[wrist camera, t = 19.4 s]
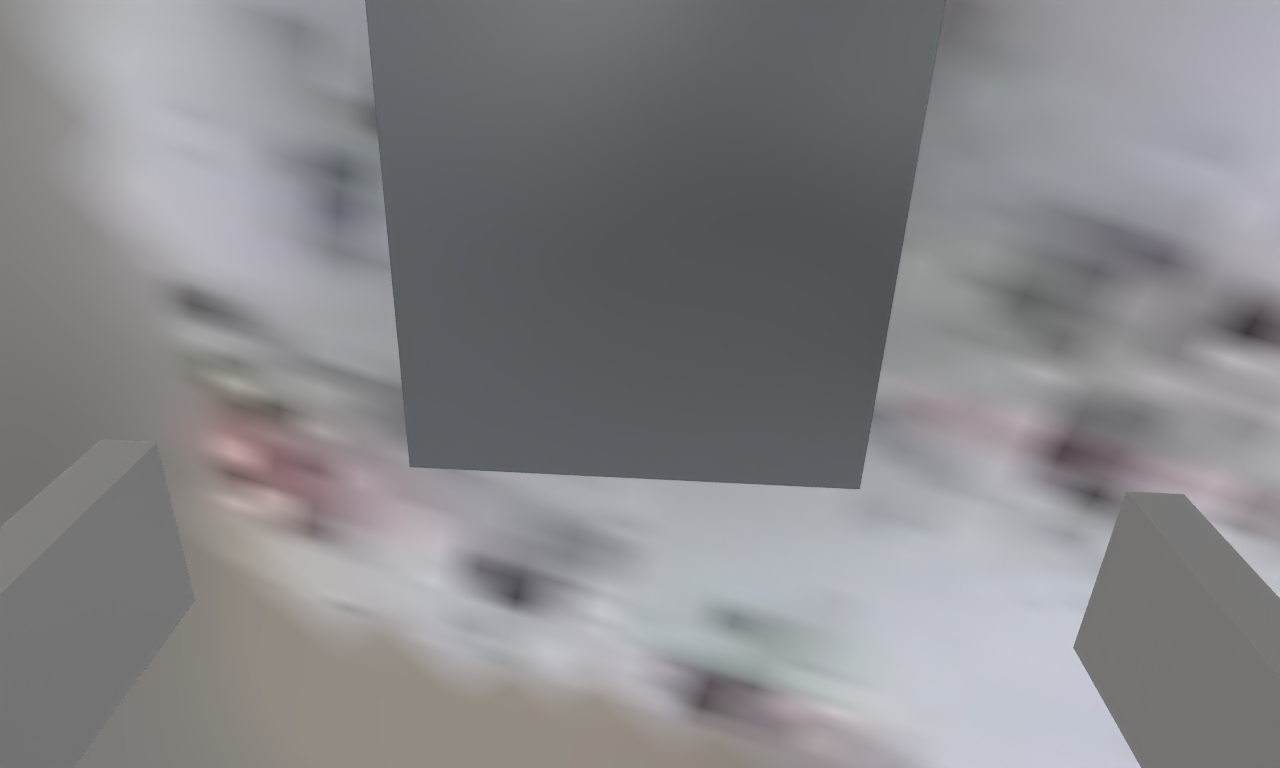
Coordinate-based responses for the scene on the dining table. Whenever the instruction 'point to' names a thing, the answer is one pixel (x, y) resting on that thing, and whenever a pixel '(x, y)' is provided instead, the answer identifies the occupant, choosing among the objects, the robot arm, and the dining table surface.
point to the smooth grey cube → (647, 229)
